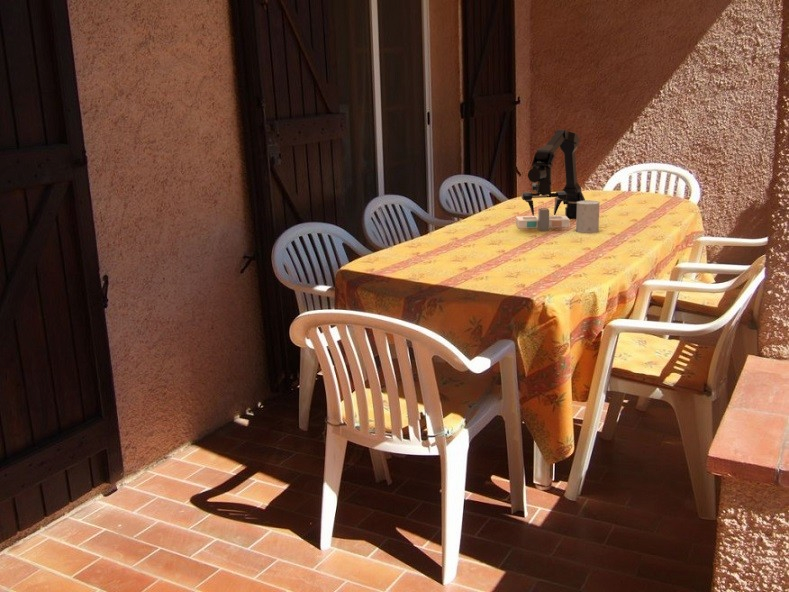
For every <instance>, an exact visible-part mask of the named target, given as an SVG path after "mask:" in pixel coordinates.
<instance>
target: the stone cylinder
mask: <svg viewBox="0 0 789 592" xmlns="http://www.w3.org/2000/svg"><path fill="white" fill-rule="evenodd" d="M575 221H576V222H575V223H576V224H575V225H576V226H575V227H576V228H575V232H577V233H581V234H595V233H599V232H600V231H599V227H600V225H599V224H600V201H598V200H586V199H585V201H578V202H577V216H576V219H575Z"/></svg>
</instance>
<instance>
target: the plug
mask: <svg viewBox="0 0 789 592" xmlns="http://www.w3.org/2000/svg"><path fill="white" fill-rule="evenodd" d="M537 216H538V228H537V229H538V231H539V232H550V228H549V216H550V209H549V208H547V207H540V208H538V213H537Z"/></svg>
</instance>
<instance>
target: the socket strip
mask: <svg viewBox="0 0 789 592" xmlns="http://www.w3.org/2000/svg"><path fill="white" fill-rule="evenodd" d="M570 220H571V219H569V218H568V217H567V216H566V215H565V214H563V215H559V214H557V215H549V229H550V228H551V229H553V228H570ZM515 225H516V227H517V228H518V229H520V230H522V229H538V215H534V216H533V215H525V216H523V215H522V216H515Z"/></svg>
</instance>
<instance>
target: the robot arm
mask: <svg viewBox="0 0 789 592" xmlns="http://www.w3.org/2000/svg"><path fill="white" fill-rule="evenodd" d="M579 142H580V137H579V134H577V133H576V132H572V131H569V130H567V129H557V130H555V132H554V133H553V135H552V137H551V138H550V140H548V142H547V143H546V144H545V145H543V146H540V147H539V148H538V149H536V151H535V153H534V156H533V159H532V163H531V168H530V170H529V171H528V173H527V178H528V180H529V181H530V182H532V183H531V191H522V192H521V200H523V201H525V202H526V203H527V204H528V205H529V208H530V212H531V214H532V215H531V216H535V215H534V214H535V211H534V210H535V209H534V200H533V199H536V198H538V199H539V198H540V199H541V198H554V208H553V216H555V215H556V214H557V212H558V209H559V206H560V205H561V203H563V204H562V205H566V207H565V209H564V215H566V216H567V217H568V218H569V219H570V220H571V219H572V220H573V219H575V220H576V216H577V202H578V201H586V198H585V196H584V194H583V193H582V188H581V186H580V184H579V183H578V177H577V163H576V162H577V160H576V151H577V148H578V147H579ZM559 148H560V150H561V151H562V152H563V156H564V171H565V185H564V187H563V189H562V190H556V191H555V192H552V168H553V167H554V166H553V163H554V160H555V158H556V152H557V151H558V149H559ZM533 192H535V193H533Z"/></svg>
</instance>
